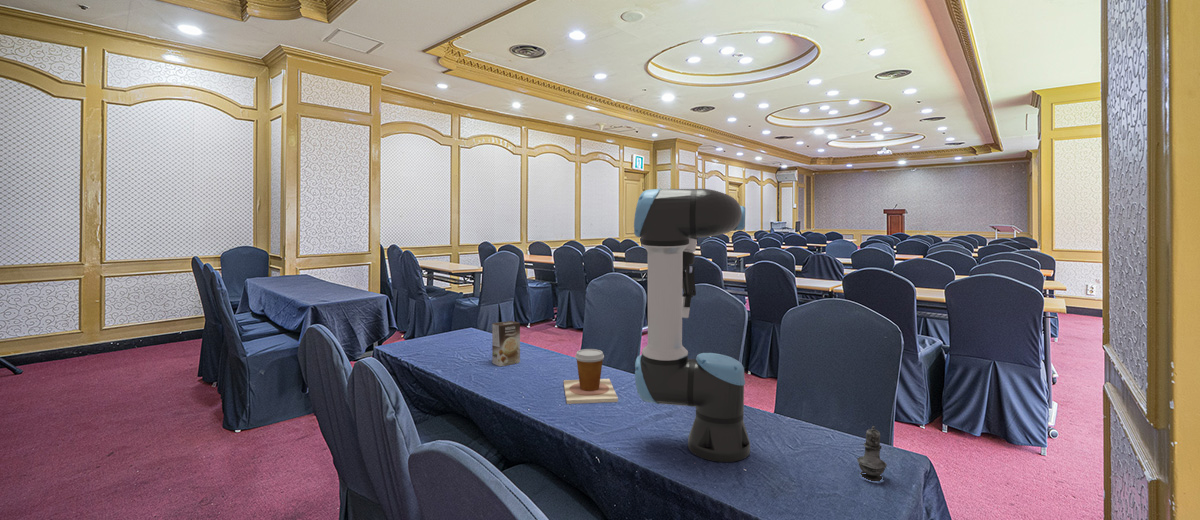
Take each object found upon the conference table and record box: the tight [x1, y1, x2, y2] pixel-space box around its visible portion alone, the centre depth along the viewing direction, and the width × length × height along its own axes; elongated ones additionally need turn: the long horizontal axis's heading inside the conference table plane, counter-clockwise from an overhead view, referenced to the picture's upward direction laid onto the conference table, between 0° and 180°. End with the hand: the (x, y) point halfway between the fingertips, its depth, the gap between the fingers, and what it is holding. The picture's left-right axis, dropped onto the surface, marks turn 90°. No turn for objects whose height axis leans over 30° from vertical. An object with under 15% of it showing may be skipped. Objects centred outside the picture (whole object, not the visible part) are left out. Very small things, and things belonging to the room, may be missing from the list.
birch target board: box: [563, 378, 619, 405], centre depth 176 cm, size 20×16×1 cm
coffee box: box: [491, 320, 521, 367], centre depth 210 cm, size 9×6×16 cm
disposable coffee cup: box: [574, 348, 605, 391], centre depth 176 cm, size 10×10×12 cm
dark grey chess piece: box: [857, 425, 888, 481], centre depth 119 cm, size 6×6×12 cm
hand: (674, 315), depth 176 cm, fingers open, 13 cm apart
